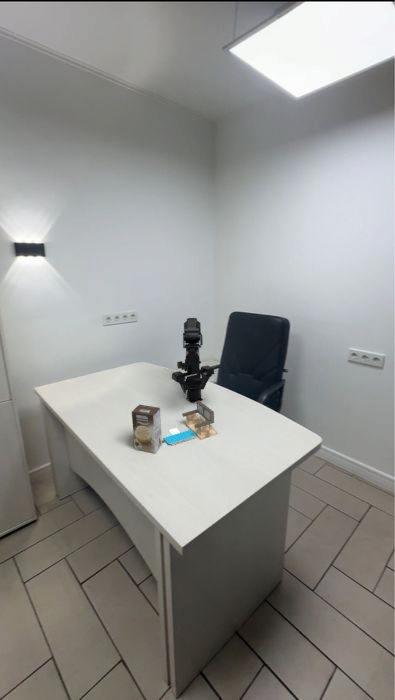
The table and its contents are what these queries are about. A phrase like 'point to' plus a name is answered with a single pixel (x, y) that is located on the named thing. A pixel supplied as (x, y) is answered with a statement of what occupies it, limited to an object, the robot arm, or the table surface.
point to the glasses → (202, 414)
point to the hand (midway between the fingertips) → (193, 391)
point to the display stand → (201, 431)
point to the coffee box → (147, 428)
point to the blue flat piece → (179, 436)
